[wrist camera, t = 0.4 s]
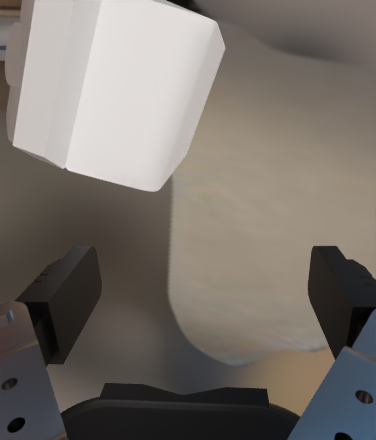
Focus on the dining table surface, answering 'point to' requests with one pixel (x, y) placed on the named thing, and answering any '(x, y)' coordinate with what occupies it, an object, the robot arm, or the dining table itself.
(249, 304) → the dining table surface
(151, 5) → the milk
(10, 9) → the square wooden tray
